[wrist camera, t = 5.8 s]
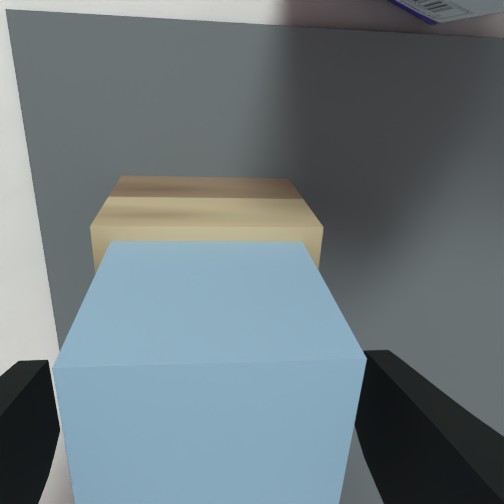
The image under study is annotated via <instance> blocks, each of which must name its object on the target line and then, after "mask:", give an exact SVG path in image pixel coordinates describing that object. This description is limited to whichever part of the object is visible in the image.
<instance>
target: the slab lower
mask: <svg viewBox="0 0 504 504" xmlns="http://www.w3.org/2000/svg"><path fill="white" fill-rule="evenodd" d="M108 197H177V198H262V199H303V198H302V196H301V195H300V194H299V192H298V191H297V189H296V188H295V187H294V185H293V184H292V182H291V181H290V180H289V178H231V177H173V176H121V177H120V179H119V180H118V182H117V183H116V185H115V187H114V188H113V190H112V192H111V193H110V195H109V196H108Z"/></svg>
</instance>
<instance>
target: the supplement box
mask: <svg viewBox="0 0 504 504" xmlns="http://www.w3.org/2000/svg"><path fill="white" fill-rule="evenodd" d="M388 1H390V2H392V3H394V4H395V5H397V6H399V7H401V8H402V9H404V10H406V11H408V12H409V13H411V14H413V15H415V16H417V17H419V18H420V19H422V20H424V21H425V22H427V23H429V24H430V25H435V24H438V23H441V22H448V21H454V20H459V19H464V18H470V17H476V16H482V15H488V14H494V13H499V12H504V0H388Z"/></svg>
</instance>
